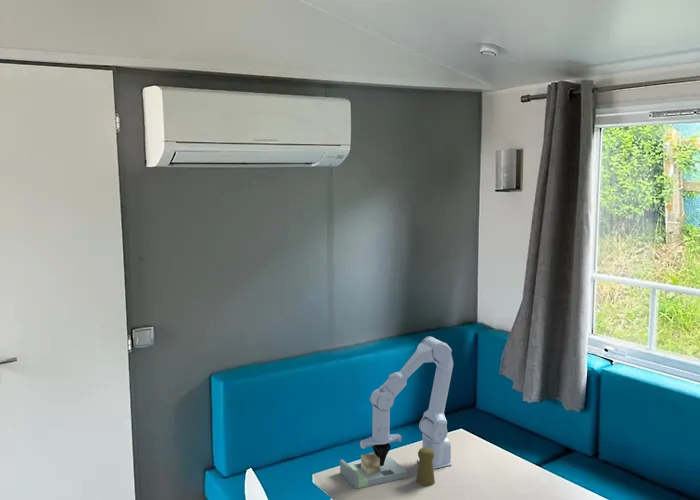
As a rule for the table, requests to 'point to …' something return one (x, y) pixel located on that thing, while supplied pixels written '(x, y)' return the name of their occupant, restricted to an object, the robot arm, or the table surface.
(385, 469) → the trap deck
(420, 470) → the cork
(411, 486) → the table surface
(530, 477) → the table surface
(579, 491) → the table surface
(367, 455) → the beech block
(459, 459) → the table surface
